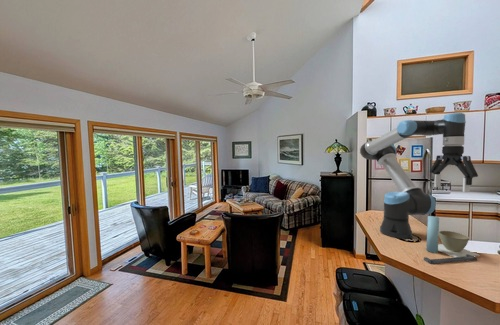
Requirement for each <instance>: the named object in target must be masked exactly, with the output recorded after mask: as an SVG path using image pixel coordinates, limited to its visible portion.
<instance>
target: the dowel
mask: <svg viewBox="0 0 500 325" xmlns="http://www.w3.org/2000/svg"><path fill="white" fill-rule="evenodd" d="M426 227H427V229H426V248H425V249H426V251H427V252H428V253H429V252H430V253H432V254H438V252H439V250H438V244H439V237H440V235H439V232H440V217H438V216H433V215H428V216H427V226H426Z"/></svg>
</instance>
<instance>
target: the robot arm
mask: <svg viewBox="0 0 500 325" xmlns="http://www.w3.org/2000/svg"><path fill="white" fill-rule="evenodd" d="M466 123H467V121H466V114H465V113H463V112H451V113H446V114H444V115H443V118H442V119H435V120H416V119H415V120H413V119H407V120H402V121H400V122H398V124H397V127H396V128H394V129H392V130H390V131H388V132H386V133H384V134H382V135H381V136H379V137H376V138H375V139H374V140H368V141H366V142H365V143H363V144H362V145H361V146H360V148H359V153H360V155H361V157H362V158H364V159H365V160H370V161H373V160H374V161H376V162H377V163H378V165H380V166H382V167H383V169H384V170H385V171H386V172H387V175H388V176H389V177H390V178H391V180H392V182H393V184H394V186H396V188H397V190H398V191H390V192H389V191H388V192H387V193H386V192H385V194H384V199H383V220H382V221H381V225H380V226H379V232H380V233H381V234H383V235H385V236H387V237H391V238H395V239H396V238H397V239H411V238H413V231H412V228H411V225H410V222H409V220H410V219H409V218H410V216H425V215H430V214H432V213H433V212H434V211H435V210H436V206H437V202H436V199H435V197H434V196H432V194H429V193H425V192H424V190H422V188H421V187H417V186H416V185H415V183H414V182H413V181H412V179H411V178H410V176H409V175H408V174H407V172H406V171H405V170H404V168H403V167H402V166H401V164H400V162H399V161H398V160H397V154H398V151H397V148H396V146H395V144H396V143H397V144H398V143H399V142H401V141H404V140H406V139H408V138H411V137H412V136H427V137H428V136H436V135H437V136H438V135H442V145H443V146H442V147H441V148H442V149H441V153H442V154H443V155H436V156H435V161H434V163H433V164H432V167H431V169H430V170H429V173H432V174H433V181H434V184H433V186H434V188H441V182H442V174H441V172H443V170H444V169H445V168H446V167H448V166H455V167H457V168H458V169H459V171H460V172H461V173H462V174H463V176H464V177H462V192H463V193H470V192H471V186H472V185H473V179H474V178H478V177H479V175H478V174H479V173H478V172H477V171H476V169H475V166H474V164H473V163H472V159H471V156H470V155H463V154H464V152H465V130H466Z"/></svg>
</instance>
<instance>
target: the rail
mask: <svg viewBox="0 0 500 325" xmlns="http://www.w3.org/2000/svg"><path fill="white" fill-rule="evenodd" d="M466 256H467V257H457V258H455V257H445V258H433V259H431V258H429V257H426V256H425V257H423V261H424V262H426V263H428V264H430V265H433V264H435V265H436V264H445V263H447V264H448V263H449V264H450V263H460V262H461V263H462V262H471V261H472V262H474V261H477V259H478V258H477V257H474V256H472V255H469V254H466Z"/></svg>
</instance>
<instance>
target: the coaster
mask: <svg viewBox="0 0 500 325" xmlns="http://www.w3.org/2000/svg"><path fill="white" fill-rule="evenodd" d="M438 252H441V253H444V254H445V255H448V256H450V257H451V258H457V257H467V256H466V254H469V255H472V256H478V257H480V254H478V253H475V252H473V251H470V250H468V249H465V248H464V249H463V250H462V251H460V252H454V251H450V250H448V249H446V248H445V246H444V245H443V243H438Z"/></svg>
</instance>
